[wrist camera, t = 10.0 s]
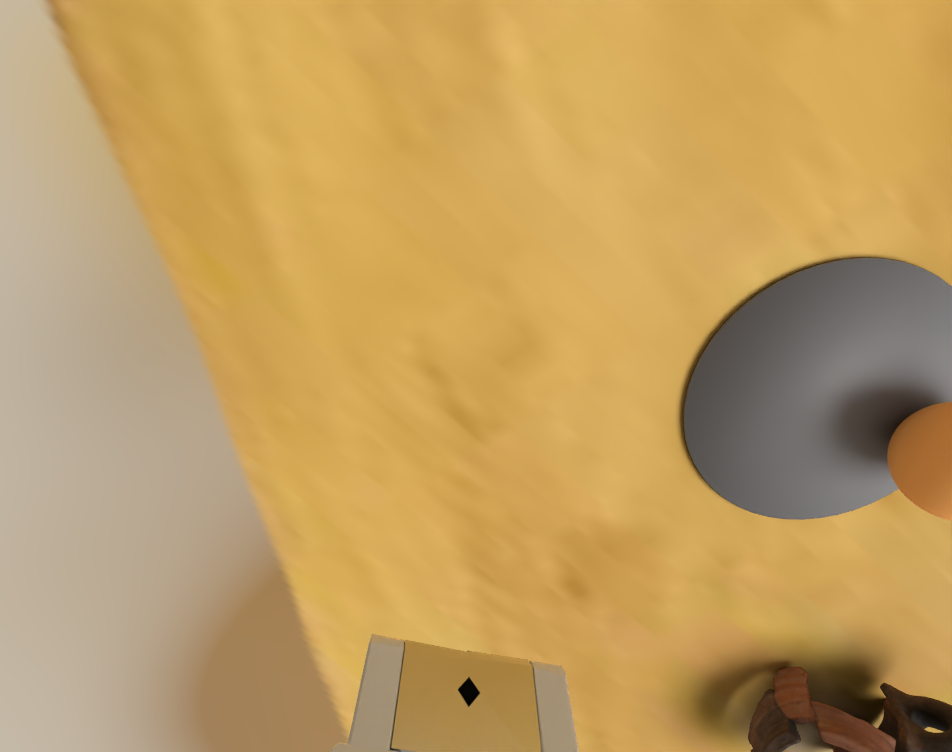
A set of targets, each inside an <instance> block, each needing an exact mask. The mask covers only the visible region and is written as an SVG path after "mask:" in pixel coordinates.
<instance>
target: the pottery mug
mask: <svg viewBox="0 0 952 752" xmlns="http://www.w3.org/2000/svg"><path fill="white" fill-rule="evenodd" d="M807 681H808V675H807V673H806V672H805V671H804V670H803V668H801V667H789V668H782V669H779V670H778V671H777V673H776V677H775V678H774V679H773V683H774V690H773V689H769V690H767V691H766V692H765V694H764V696H763V697H762V699H761V701H760V702H759V704H758V706H757V708H756V711H755V713H754V715H753V718H752V721H751V723H750V730H749V734H748V740H749V742H750V744H751V745H752V747H753V749H752V750H751V752H782V751H784V750H785V749H786V748H788V747H789V746H791V745H793V744H796V743H799V742H800V741H801V739H800V735H799V733H798V731H797V728H796V724H806V723H810V724H813V725H817V728H818V731H819V734H820V737H821V739H822V741H823V742H826V743H828V744H832V745H834V746H833V751H834V752H952V706H951V705H949V704H947V703H944V702H941V701H939V700H935V699H932V698H928V697H922V696H913V695H908V694H906V693H903V692H902V691H900V690H898V689H896V688H894V687H893V686H891V685H888V684H886V683H883V684H882V685H881V686H880V688H881V690H882V691H883V693H884V695H885V696H886V698H887V699H884V700H883V705H884V717H883V721H882V723H881V724H880V726H879V728H878V729H877V728H875V727H874V726H872V725H871V724H869V723H868V722H866V721H864V720H861V719H858V718H856V717H854V716H851V715H849V714H848V713H846V712H844V711H842V710H840V709H837V708H835V707H832V706H829V705H826V704H823V703H819V702H815V701H813V702H812V701H811V697H810V694H809V691H808V688H807ZM927 727H932V728H935V729H938V730H941V731H944V732H942V733H932V732H928V731H926V730H924V729H925V728H927Z"/></svg>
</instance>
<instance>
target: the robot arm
mask: <svg viewBox="0 0 952 752" xmlns="http://www.w3.org/2000/svg"><path fill="white" fill-rule="evenodd" d="M329 752H579V750H578V744H577V738H576V732H575V726H574V720H573V714H572V708H571V703H570V697H569V691H568V685H567V679H566V673H565V671H564V669H563V668H562V666H558V665H552V664H546V663H540V662H534V661H528V660H525V659H519V658H512V657H505V656H499V655H492V654H486V653H479V652H472V651H467V652H465V651H460V650H454V649H449V648H444V647H439V646H434V645H429V644H424V643H418V642H413V641H408V640H405V642H404V640H402V639H396V638H391V637H385V636H379V635H374V634H372V636H371V639H370V642H369V646H368V651H367V655H366V660H365V665H364V670H363V674H362V679H361V684H360V689H359V693H358V698H357V703H356V707H355V712H354V717H353V722H352V726H351V731H350V736H349V740H348V743H339V742H337V743H336V744H335V745H334V747H333V748H332V749H331V750H330V751H329Z"/></svg>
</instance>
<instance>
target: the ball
mask: <svg viewBox="0 0 952 752" xmlns="http://www.w3.org/2000/svg"><path fill="white" fill-rule="evenodd" d="M887 461H888V466H889V470H890V473H891V476H892V478H893V480H894V482H895V483H896V485H897V487H898V488H899V489H900V490H901V492H902V493H903V494H904V495H905V496H906V497H907V498H908V499H909V500H911V501H912V502H913V503H914V504H915V505H917V506H918V507H920V508H922V509H923V510H925V511H927V512H929V513H931V514H933V515H935V516H938V517H941V518H944V519H947V520H951V521H952V402H944V403H938V404H935V405H931V406H928V407H926V408H923V409H921V410H919V411H917V412H915V413H913V414H912V415H910V416H909V417H907V418H906V419H905V420H904V421H903V422H902V423H901V424H900V425H899V426H898V427H897V429H896V430H895V432H894V433H893V435H892V437H891V440H890V442H889V446H888V452H887Z"/></svg>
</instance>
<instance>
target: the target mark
mask: <svg viewBox="0 0 952 752" xmlns="http://www.w3.org/2000/svg"><path fill="white" fill-rule="evenodd" d="M944 402H952V286H950V285H949V284H948V283H946V282H945V281H944V280H943V279H941V278H940V277H938V276H937V275H935V274H933V273H931V272H929V271H927V270H925V269H923V268H920V267H917V266H914V265H911V264H908V263H905V262H902V261H896V260H890V259H884V258H862V257H861V258H851V259H841V260H836V261H831V262H827V263H823V264H818V265H815V266H813V267H810V268H807V269H804V270H801V271H798V272H796V273H794V274H792V275H790V276H788V277H785V278H783V279H781V280H779V281H777V282H776V283H774V284H772V285H771V286H769V287H767V288H766V289H764V290H763V291H761V292H759V293H758V294H757V295H755V296H754V297H753V298H751V299H750V300H749V301H748V302H746V303H745V304H744V305H742V306H741V307H740V308H739V309H738V310H737V311H736V312H735V313H734V314H733V315H732V316H731V317H730V318H729V319H728V320H727V321H726V322H725V323H724V324H723V325H722V327H721V328H720V329H719V330H718V331H717V333H716V334H715V335H714V336H713V337H712V339H711V340H710V342H709V344H708V345H707V347H706V348H705V350H704V351H703V353H702V354H701V356H700V358H699V360H698V362H697V365H696V367H695V369H694V371H693V373H692V376H691V379H690V382H689V385H688V388H687V393H686V398H685V403H684V416H683V424H684V434H685V440H686V443H687V447H688V451H689V454H690V456H691V458H692V460H693V462H694V465H695V466H696V468H697V469H698V471H699V472H700V474H701V475H702V477H703V478H704V480H705V481H706V482H707V483H708V484H709V485H710V486H711V487H712V489H713V490H714V491H716V492H717V493H718V494H719V495H721V496H722V497H723V498H724V499H726V500H727V501H729V502H731V503H733V504H734V505H736V506H738V507H740V508H742V509H745V510H747V511H750V512H752V513H756V514H759V515H763V516H767V517H773V518H780V519H801V520H802V519H814V518H822V517H828V516H833V515H838V514H842V513H845V512H849V511H852V510H855V509H858V508H861V507H863V506H866V505H868V504H871V503H873V502H875V501H877V500H879V499H881V498H883V497H885V496H887V495H889V494H891V493H892V492H894V491H896V490H897V489H899V488H898V487H897V485H896V483H895V482H894V480H893V478H892V476H891V473H890V470H889V466H888V461H887V452H888V446H889V442H890V440H891V437H892V435H893V433H894V432H895V430H896V429H897V427H898V426H899V425H900V424H901V423H902V422H903V421H904V420H905V419H906V418H907V417H909V416H910V415H912V414H913V413H915V412H917V411H919V410H921V409H923V408H926V407H928V406H931V405H935V404H938V403H944Z"/></svg>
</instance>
